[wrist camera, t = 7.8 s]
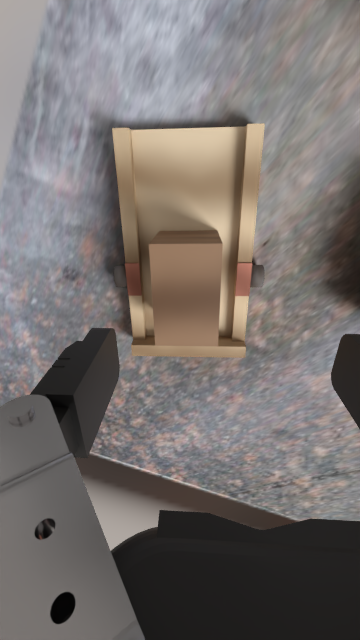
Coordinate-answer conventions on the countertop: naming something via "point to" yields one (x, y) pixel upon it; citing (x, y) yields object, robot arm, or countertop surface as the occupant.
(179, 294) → the block
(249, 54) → the countertop surface
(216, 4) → the countertop surface
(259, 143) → the wooden tray
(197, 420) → the countertop surface
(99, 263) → the countertop surface
